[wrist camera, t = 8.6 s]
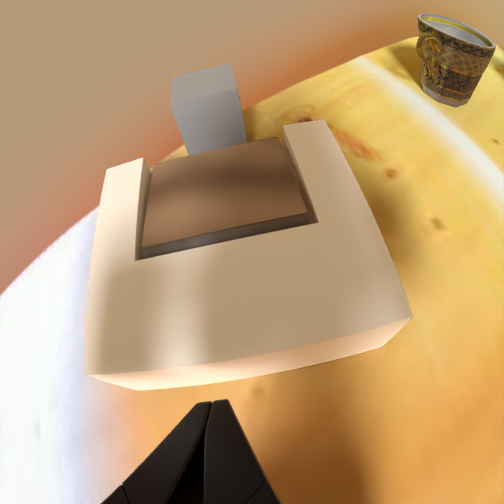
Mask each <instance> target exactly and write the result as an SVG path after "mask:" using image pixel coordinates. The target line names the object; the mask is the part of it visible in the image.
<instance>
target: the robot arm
mask: <svg viewBox="0 0 504 504" xmlns="http://www.w3.org/2000/svg"><path fill="white" fill-rule="evenodd" d="M122 485H123V486H122ZM122 485H120V486H119V487H118V488H117V489H116V490H115V491H114V492H113V493H112V494H111V495H109V496H108V497H107V498H106V499H105V500H104V501H103V502H102V503H101V504H282V502H281V501H280V499H279V498H278V496H277V494H276V493H275V491H274V489H273V487H272V485H271V484H270V482H269V480H268V478H267V476H266V475H265V473H264V471H263V469H262V467H261V465H260V463H259V461H258V459H257V457H256V455H255V454H254V452H253V450H252V448H251V446H250V444H249V442H248V440H247V438H246V436H245V434H244V431H243V429H242V427H241V425H240V423H239V421H238V419H237V417H236V415H235V413H234V411H233V408H232V406H231V404H230V402H229V400H228V399H223V400H216V401H213V402H211V401H207V402H199V403H197V404H195V406H194V407H193V408H192V409H191V410H190V411H189V412H188V413H187V415H186V416H185V417H184V418H183V419H182V420H181V421H180V422H179V423H178V425H177V426H176V427H175V428H174V429H173V430H172V431H171V432H170V433H169V434H168V435H167V437H166V438H165V439H164V440H163V441H162V442H161V443H160V444H159V445H158V446H157V447H156V448H155V449H154V451H153V452H152V453H151V454H150V455H149V456H148V457H147V458H146V459H145V460H144V461H143V462H142V463H141V464H140V465H139V466H138V467H137V468H136V469H135V470H134V472H133V473H132V474H131V475H130V476H129V477H128V478H127V479H126V480H125V481H124V482H123V483H122Z"/></svg>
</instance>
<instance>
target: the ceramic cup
mask: <svg viewBox="0 0 504 504" xmlns="http://www.w3.org/2000/svg"><path fill="white" fill-rule="evenodd" d="M418 29H419V39H418V41H417V46H416V49H417V52H418V54H419V56H420V57H421V83H422V87H423V91H424V93H426V94H427V95H429V96H430V97H432V98H433V99H434V100H436V101H437V102H440V103H443V104H447V105H450V106H454V107H459V106H461V105H464V104H466V103H467V102H468V101H469V99H470V97H471V95H472V93H473V91H474V90H475V88H476V86H477V84H478V82H479V80H480V78H481V76H482V74H483V72H484V71H485V69H486V68H487V66H488V64H489V62H490V60H491V58H492V56H493V53H494V50H495V47H496V46H495V44H494V43H493V42H492V40H490V39H489V38H488V37H487V36H485V35H484V34H482V33H481V32H479V31H477V30H476V29H474V28H472V27H470V26H468V25H466V24H463V23H461V22H458V21H456V20H453V19H450V18H447V17H443V16H439V15H434V14H420V15H419V16H418Z"/></svg>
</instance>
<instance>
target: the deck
mask: <svg viewBox="0 0 504 504" xmlns="http://www.w3.org/2000/svg"><path fill="white" fill-rule="evenodd" d="M283 135H284V147H285V156H286V158H287V161H288V163H289V166H290V168H291V171H292V173H293V176H294V178H295V181H296V183H297V186H298V188H299V191H300V194H301V196H302V199H303V201H304V204H305V207H306V209H307V212H308V215H309V218H310V223H311V224H309V225H304V226H299V227H294V228H289V229H284V230H280V231H275V232H270V233H265V234H260V235H255V236H250V237H245V238H241V239H236V240H231V241H226V242H222V243H217V244H212V245H207V246H203V247H198V248H193V249H189V250H184V251H179V252H175V253H170V254H165V255H161V256H156V257H152V258H147V259H143V258H142V255H141V249H142V240H143V232H144V224H145V217H146V210H147V203H148V197H149V191H150V185H151V179H152V174H151V172H150V170H149V168H148V166H147V164H146V162H145V160H144V158H141V159H138V160H134V161H131V162H128V163H125V164H122V165H119V166H116V167H113V168H110V169H107V171H106V176H105V180H104V186H103V190H102V195H101V200H100V205H99V211H98V217H97V223H96V229H95V236H94V242H93V250H92V258H91V266H90V276H89V286H88V299H87V314H86V338H85V375H87V376H90V377H93V378H96V379H99V380H103V381H106V382H109V383H112V384H116V385H119V386H123V387H126V388H130V389H134V390H152V389H165V388H175V387H185V386H194V385H203V384H210V383H218V382H225V381H232V380H238V379H244V378H250V377H256V376H262V375H267V374H273V373H278V372H283V371H288V370H293V369H297V368H302V367H307V366H311V365H315V364H320V363H324V362H328V361H332V360H336V359H340V358H344V357H348V356H352V355H355V354H359V353H363V352H366V351H370V350H373V349H377V348H380V347H382V346H383V345H384V344H385V343H386V342H387V341H389V340H390V339H391V338H392V337H393V336H394V335H395V334H396V333H397V332H398V331H399V330H400V329H401V328H402V327H403V326H404V325H405V324H406V323H407V322H408V321H409V320H410V319H411V318H412V317H413V315H412V312H411V309H410V306H409V303H408V300H407V297H406V295H405V292H404V289H403V286H402V284H401V281H400V278H399V276H398V273H397V270H396V268H395V265H394V263H393V260H392V258H391V255H390V253H389V250H388V248H387V246H386V243H385V241H384V238H383V236H382V234H381V231H380V229H379V227H378V225H377V222H376V220H375V218H374V216H373V213H372V211H371V209H370V207H369V205H368V203H367V200H366V198H365V196H364V194H363V192H362V190H361V188H360V186H359V184H358V182H357V180H356V178H355V176H354V174H353V172H352V170H351V168H350V166H349V164H348V162H347V160H346V158H345V156H344V154H343V152H342V151H341V149H340V147H339V145H338V143H337V141H336V140H335V138H334V136H333V134H332V132H331V131H330V129H329V127H328V125H327V124H326V122H325V120H324V119H323V120H316V121H309V122H302V123H295V124H289V125H283Z"/></svg>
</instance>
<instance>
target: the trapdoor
mask: <svg viewBox="0 0 504 504" xmlns="http://www.w3.org/2000/svg"><path fill="white" fill-rule="evenodd" d="M309 224H311V223H310V218H309V215H308V212H307V209H306V207H305V204H304V201H303V199H302V196H301V194H300V191H299V188H298V186H297V183H296V181H295V178H294V176H293V173H292V171H291V168H290V166H289V163H288V161H287V158H286V156H285V154H284V151H283V149H282V146H281V144H280V141H279V139H278V137H274V138H269V139H263V140H258V141H253V142H248V143H243V144H238V145H233V146H229V147H224V148H220V149H215V150H211V151H207V152H203V153H198V154H194V155H190V156H186V157H182V158H179V159H175V160H171V161H167V162H164V163H160V164H156V165H154V167H153V173H152V179H151V185H150V191H149V197H148V203H147V210H146V217H145V224H144V232H143V240H142V249H141V255H142V258H143V259H147V258H152V257H156V256H161V255H165V254H170V253H175V252H179V251H184V250H189V249H193V248H198V247H203V246H207V245H212V244H217V243H222V242H226V241H231V240H236V239H241V238H245V237H250V236H255V235H260V234H265V233H270V232H275V231H280V230H284V229H289V228H294V227H299V226H304V225H309Z"/></svg>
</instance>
